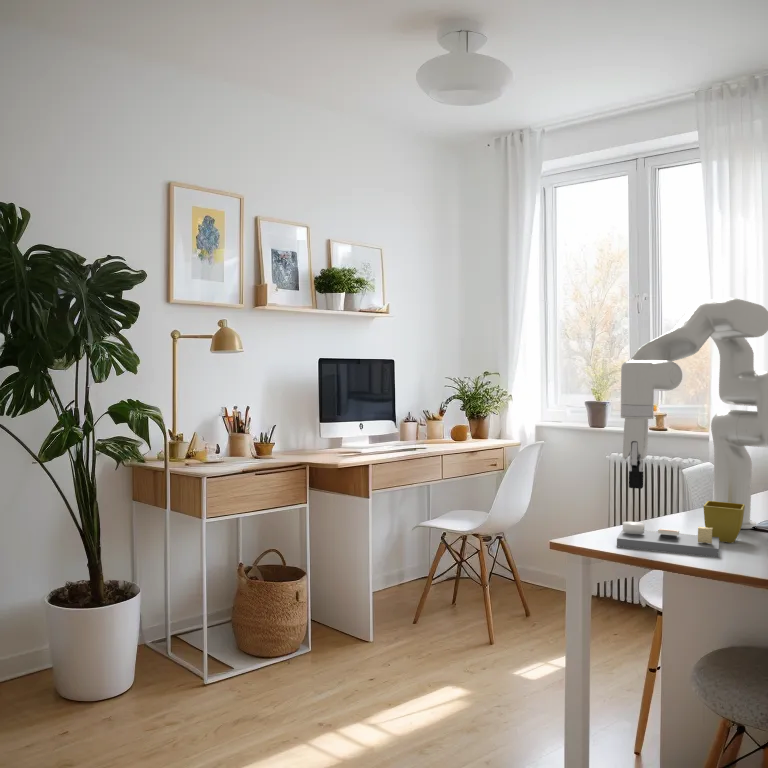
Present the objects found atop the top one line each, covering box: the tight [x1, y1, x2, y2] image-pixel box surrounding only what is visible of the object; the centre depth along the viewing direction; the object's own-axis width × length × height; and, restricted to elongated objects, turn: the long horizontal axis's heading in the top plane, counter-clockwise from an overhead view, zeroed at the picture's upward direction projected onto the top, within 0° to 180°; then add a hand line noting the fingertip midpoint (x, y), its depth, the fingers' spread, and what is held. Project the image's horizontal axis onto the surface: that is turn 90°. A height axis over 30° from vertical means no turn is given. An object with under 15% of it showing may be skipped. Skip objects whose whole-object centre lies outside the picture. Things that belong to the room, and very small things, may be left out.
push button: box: [622, 521, 646, 534], centre depth 186 cm, size 5×5×2 cm
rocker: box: [657, 528, 680, 535], centre depth 183 cm, size 6×4×1 cm
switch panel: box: [616, 529, 720, 559], centre depth 183 cm, size 14×22×3 cm, turn 66°
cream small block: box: [697, 526, 712, 543], centre depth 178 cm, size 2×3×3 cm, turn 66°
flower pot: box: [702, 500, 745, 544], centre depth 191 cm, size 9×9×9 cm
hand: (636, 487), depth 186 cm, fingers closed
